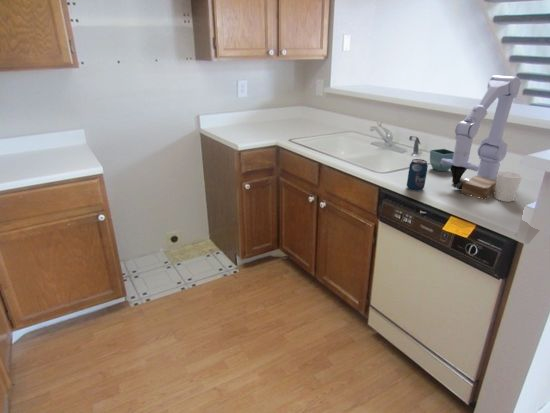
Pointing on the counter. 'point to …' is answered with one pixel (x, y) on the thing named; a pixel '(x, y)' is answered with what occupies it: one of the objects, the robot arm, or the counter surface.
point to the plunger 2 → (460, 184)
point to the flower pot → (436, 159)
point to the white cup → (507, 185)
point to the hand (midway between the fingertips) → (455, 183)
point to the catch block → (479, 187)
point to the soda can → (417, 174)
